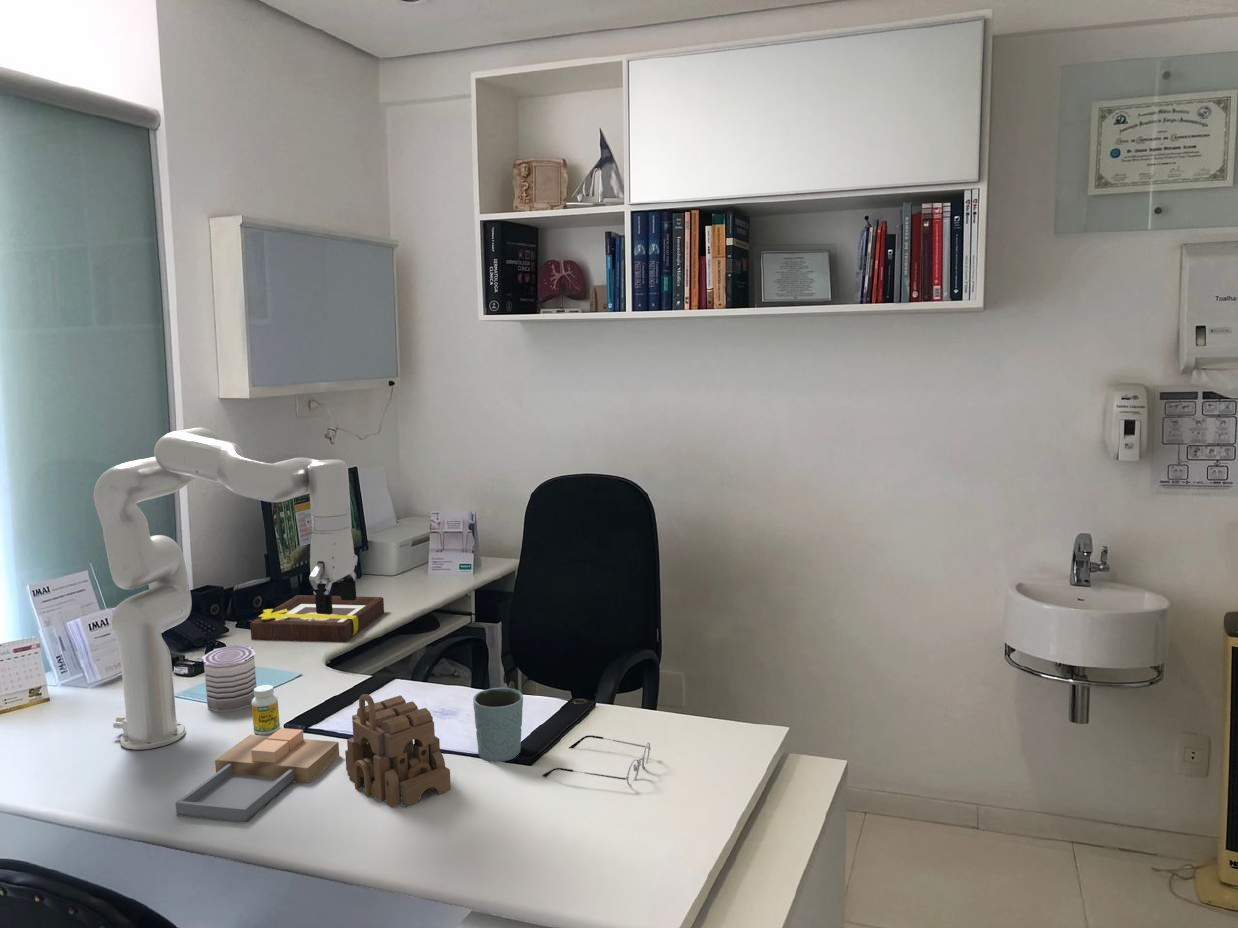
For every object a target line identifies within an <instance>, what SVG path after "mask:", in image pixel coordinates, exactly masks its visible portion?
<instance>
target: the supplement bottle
mask: <svg viewBox="0 0 1238 928" xmlns="http://www.w3.org/2000/svg"><path fill="white" fill-rule="evenodd" d="M254 696H255V697H254V698H253V700H252V705H251V711H252V713H251V714H252V725H253V733H255V735H256V734H257V735H260V736H266V735H270V734H271V735H272V734H274V733H275V732H276V731H278V730H279V729H280V728H281V727H280V726H281V723H280V713H279V699H278V696H277V695H275V694H274V686H273V685H270V684H264V685H263V684H261V685H257V686H256V688H254Z"/></svg>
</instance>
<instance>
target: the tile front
mask: <svg viewBox="0 0 1238 928" xmlns="http://www.w3.org/2000/svg"><path fill="white" fill-rule="evenodd" d="M288 752H289V746H288V741H278V740H266V739H265V740H264V741H263V742H261V743H260V744H259V745H257V746H256V747H255V748H253V749H252V750H251V756H252V761H259V762H271V763H275V762H277V761H278V760H279V759H280V758H282V757H283V756H284V755H286V754H287V753H288Z"/></svg>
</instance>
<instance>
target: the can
mask: <svg viewBox="0 0 1238 928" xmlns="http://www.w3.org/2000/svg"><path fill="white" fill-rule="evenodd" d="M255 655H256V652H255V650H254V648H253V647H252V646H249V645H248V646H247V645H240V644H232V645H228V646H227V645H226V646H224V647H219V648H214V649H213V650H211V651H209V652H207V653H206V654H204V655H202V657H201V659H202V661H203V667H204V669H203V670H204V677H205V678H204V679H205V692H206V693H205V694H206V703H207V709H208V711H209V710H210V711H213V712H218V713H223V712H236V711H239V710H244V709H245V708H250V707H252V700H253V698H254V697H255V696H254V688H256V687H257V676H256V675H257V674H256V663H255Z"/></svg>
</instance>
